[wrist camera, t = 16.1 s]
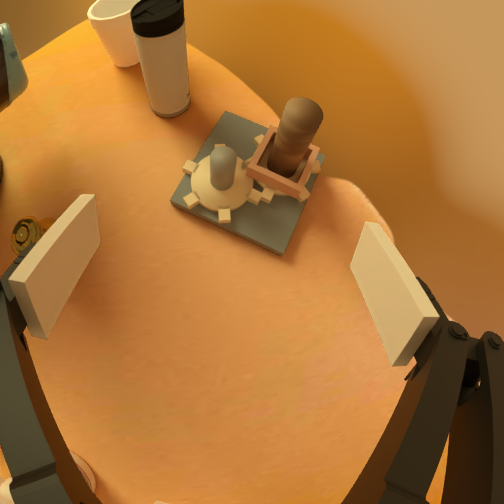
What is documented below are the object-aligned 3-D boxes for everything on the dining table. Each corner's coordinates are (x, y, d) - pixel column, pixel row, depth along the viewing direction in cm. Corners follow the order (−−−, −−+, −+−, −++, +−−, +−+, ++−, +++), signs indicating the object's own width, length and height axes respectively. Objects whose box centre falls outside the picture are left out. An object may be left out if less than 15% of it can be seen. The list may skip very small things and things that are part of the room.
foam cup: (121, 38, 47) (108, -11, 34) (162, 43, 47) (155, -11, 35) (95, 71, 45) (76, 20, 32) (138, 76, 45) (124, 20, 33)
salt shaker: (67, 216, 39) (34, 190, 30) (88, 259, 39) (55, 242, 29) (31, 245, 38) (-8, 227, 28) (50, 288, 37) (10, 279, 27)
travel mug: (200, 100, 45) (197, -2, 26) (167, 125, 44) (148, 23, 24) (174, 82, 46) (164, -16, 26) (143, 104, 44) (118, 7, 25)
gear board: (168, 203, 41) (158, 175, 33) (222, 115, 45) (225, 78, 36) (281, 256, 41) (297, 240, 33) (322, 160, 45) (343, 129, 37)
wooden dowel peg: (262, 171, 41) (279, 117, 29) (273, 148, 42) (292, 92, 30) (290, 183, 41) (316, 133, 29) (300, 160, 42) (327, 107, 30)
